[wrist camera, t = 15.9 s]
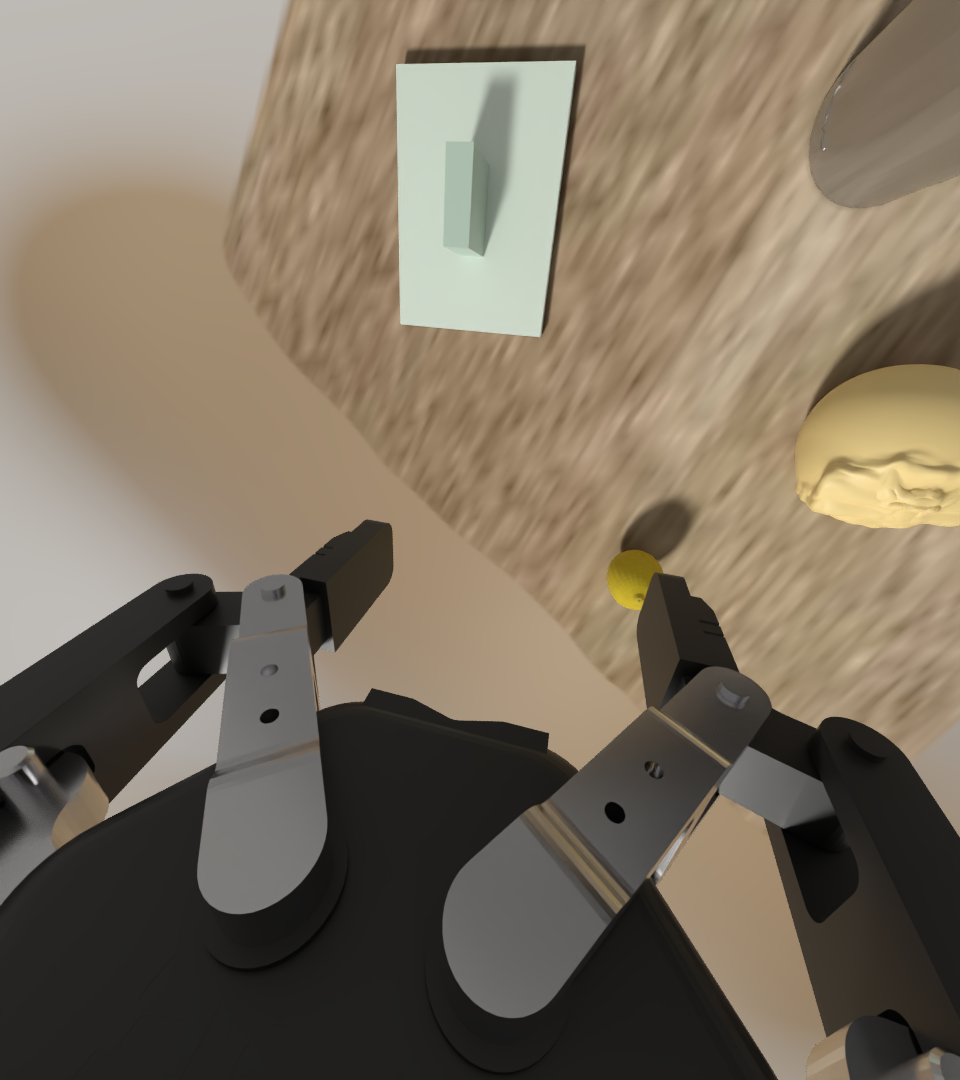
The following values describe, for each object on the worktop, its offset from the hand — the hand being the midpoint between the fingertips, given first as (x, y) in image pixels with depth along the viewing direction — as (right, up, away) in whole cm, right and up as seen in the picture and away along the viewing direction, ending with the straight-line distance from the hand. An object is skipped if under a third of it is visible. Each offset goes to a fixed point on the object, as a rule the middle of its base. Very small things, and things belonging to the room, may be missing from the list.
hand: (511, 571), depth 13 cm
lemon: (+16, -1, +34) cm, 37 cm away
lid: (-1, +29, +23) cm, 37 cm away
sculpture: (+32, +10, +24) cm, 41 cm away
